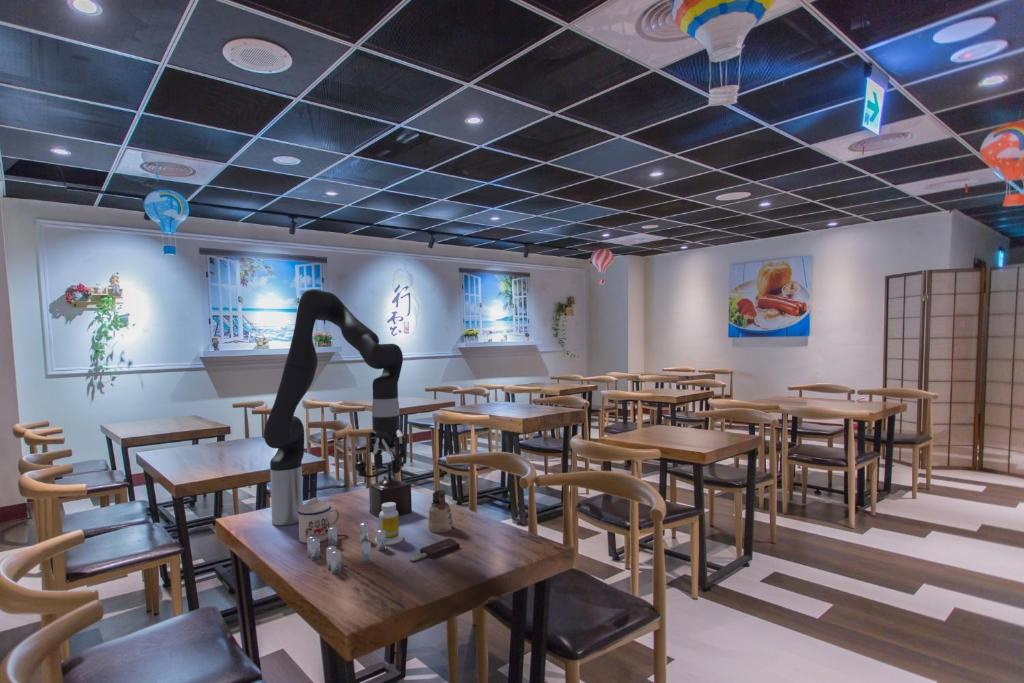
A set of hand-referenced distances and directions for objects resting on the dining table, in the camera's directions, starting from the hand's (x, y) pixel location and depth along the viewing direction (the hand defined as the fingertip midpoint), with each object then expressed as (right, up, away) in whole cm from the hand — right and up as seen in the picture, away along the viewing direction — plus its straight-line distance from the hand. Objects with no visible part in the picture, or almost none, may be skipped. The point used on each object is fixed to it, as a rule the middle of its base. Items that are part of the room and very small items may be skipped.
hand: (387, 470), depth 151 cm
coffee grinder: (-7, -20, +22) cm, 31 cm away
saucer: (+1, -20, 0) cm, 20 cm away
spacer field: (-8, -20, -9) cm, 23 cm away
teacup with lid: (-20, -21, +4) cm, 29 cm away
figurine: (+14, -20, +8) cm, 26 cm away
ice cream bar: (+15, -20, -9) cm, 27 cm away
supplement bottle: (+1, -19, 0) cm, 20 cm away
